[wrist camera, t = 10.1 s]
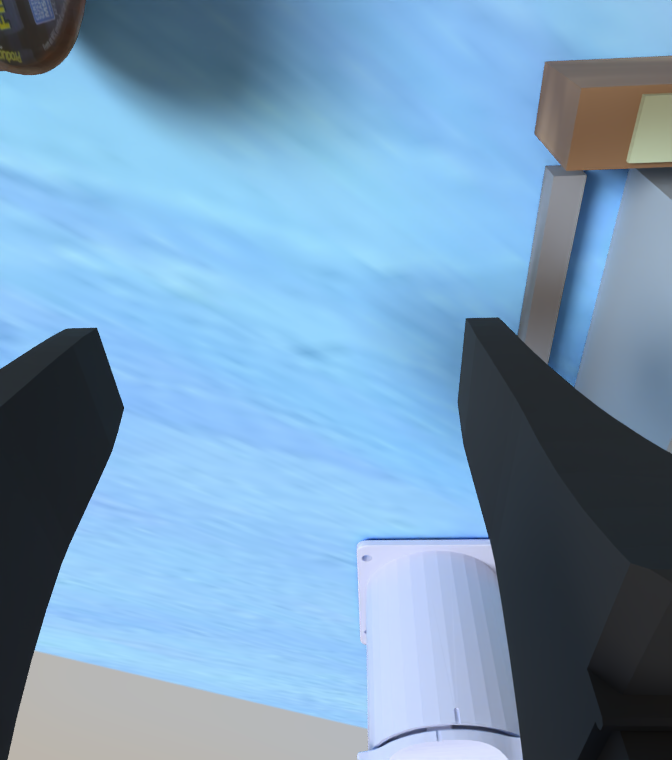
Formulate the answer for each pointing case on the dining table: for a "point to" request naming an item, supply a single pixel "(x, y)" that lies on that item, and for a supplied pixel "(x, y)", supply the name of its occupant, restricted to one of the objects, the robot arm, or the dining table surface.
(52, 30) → the tin
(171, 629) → the dining table surface
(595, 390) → the grey rectangular block
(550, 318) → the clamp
